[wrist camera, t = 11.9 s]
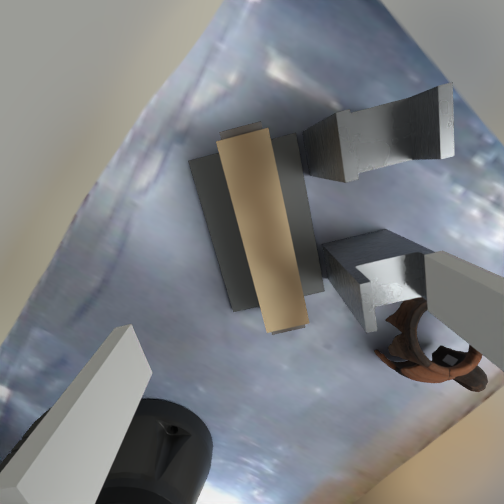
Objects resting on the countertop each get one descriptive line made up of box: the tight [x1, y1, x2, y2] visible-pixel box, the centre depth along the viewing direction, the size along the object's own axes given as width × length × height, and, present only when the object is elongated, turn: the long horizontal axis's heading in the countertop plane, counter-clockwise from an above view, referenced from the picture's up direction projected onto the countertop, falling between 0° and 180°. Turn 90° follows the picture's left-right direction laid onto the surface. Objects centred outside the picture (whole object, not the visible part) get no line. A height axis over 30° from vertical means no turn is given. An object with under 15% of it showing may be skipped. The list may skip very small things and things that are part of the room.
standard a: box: [322, 229, 435, 333], centre depth 24 cm, size 7×4×10 cm, turn 104°
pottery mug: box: [374, 297, 488, 392], centre depth 30 cm, size 12×10×8 cm
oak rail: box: [216, 121, 309, 335], centre depth 25 cm, size 4×18×4 cm, turn 14°
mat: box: [188, 133, 325, 312], centre depth 28 cm, size 10×16×1 cm, turn 14°
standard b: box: [302, 82, 454, 183], centre depth 21 cm, size 7×4×10 cm, turn 104°
